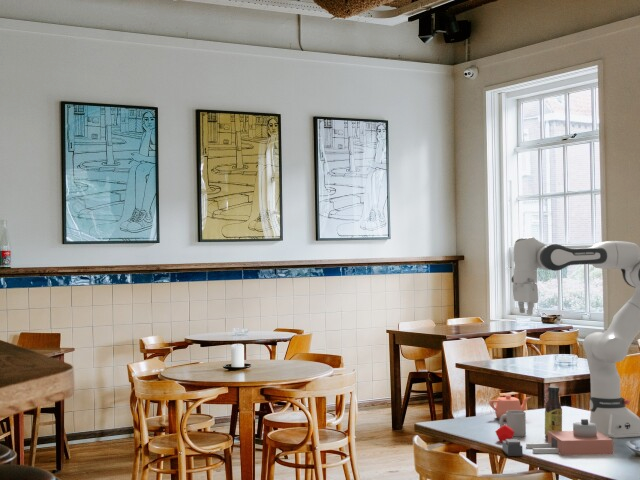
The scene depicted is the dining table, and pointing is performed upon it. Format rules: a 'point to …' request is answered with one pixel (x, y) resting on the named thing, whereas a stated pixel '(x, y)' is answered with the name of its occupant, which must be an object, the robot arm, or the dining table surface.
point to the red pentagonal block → (504, 433)
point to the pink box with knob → (575, 441)
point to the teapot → (507, 405)
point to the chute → (512, 447)
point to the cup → (515, 422)
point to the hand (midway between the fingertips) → (525, 313)
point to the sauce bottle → (553, 412)
